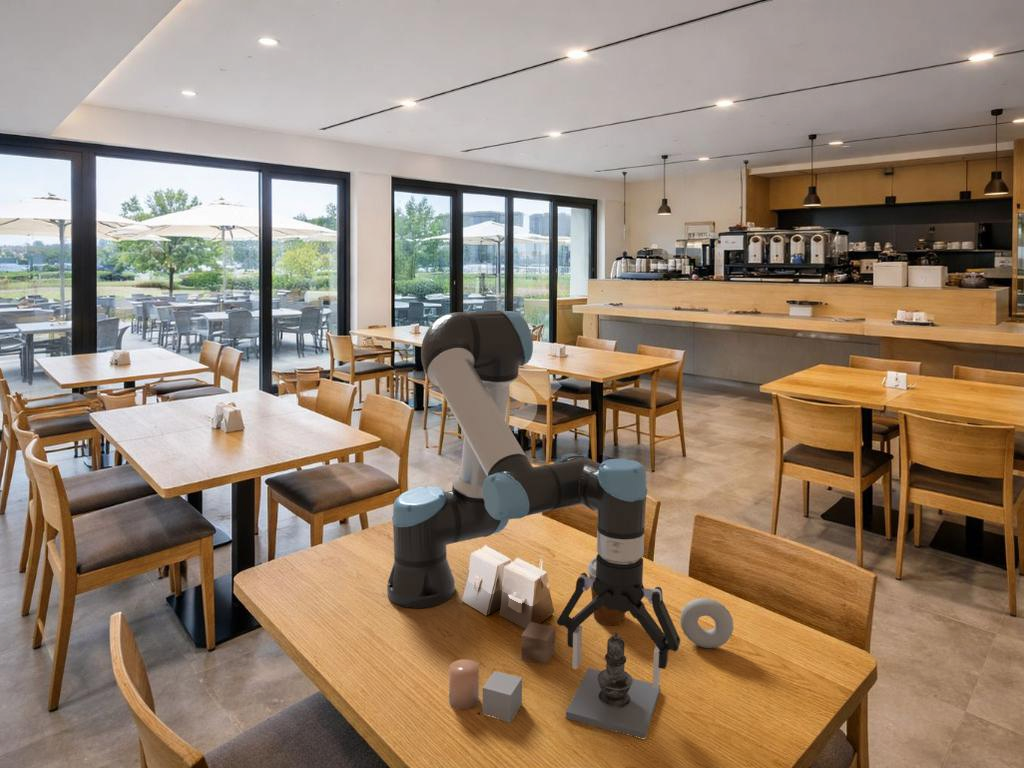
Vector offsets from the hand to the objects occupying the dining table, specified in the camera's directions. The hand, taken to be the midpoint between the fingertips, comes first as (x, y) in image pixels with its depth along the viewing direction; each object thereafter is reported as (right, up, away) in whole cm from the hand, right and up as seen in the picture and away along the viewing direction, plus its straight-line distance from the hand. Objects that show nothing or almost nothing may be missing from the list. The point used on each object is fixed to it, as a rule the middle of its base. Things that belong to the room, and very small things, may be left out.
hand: (615, 673), depth 111 cm
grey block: (-19, -6, 0) cm, 20 cm away
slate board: (0, -6, +1) cm, 6 cm away
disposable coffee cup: (+3, -1, +29) cm, 29 cm away
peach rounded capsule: (-26, -5, +2) cm, 26 cm away
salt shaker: (0, -5, +1) cm, 5 cm away
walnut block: (-12, -3, +15) cm, 20 cm away
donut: (+20, -3, +18) cm, 27 cm away
